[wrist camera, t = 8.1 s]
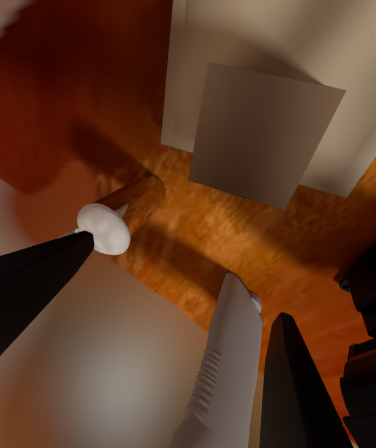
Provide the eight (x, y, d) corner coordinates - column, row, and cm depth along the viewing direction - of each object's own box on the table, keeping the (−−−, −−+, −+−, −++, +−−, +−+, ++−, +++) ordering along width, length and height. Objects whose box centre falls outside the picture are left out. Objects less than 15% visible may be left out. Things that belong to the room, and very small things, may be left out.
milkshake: (122, 169, 23) (40, 216, 16) (167, 167, 21) (98, 219, 14) (134, 207, 26) (68, 264, 18) (176, 208, 24) (121, 273, 16)
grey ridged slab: (211, 271, 27) (77, 619, 10) (243, 266, 25) (144, 705, 7) (244, 328, 30) (190, 656, 13) (275, 329, 28) (257, 721, 11)
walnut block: (323, 84, 12) (346, 90, 8) (285, 169, 15) (284, 210, 10) (236, 67, 13) (208, 61, 8) (216, 149, 16) (188, 179, 11)
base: (496, -60, 10) (553, -96, 8) (339, 184, 17) (346, 199, 15) (199, -83, 12) (181, -114, 10) (173, 136, 20) (159, 143, 17)
